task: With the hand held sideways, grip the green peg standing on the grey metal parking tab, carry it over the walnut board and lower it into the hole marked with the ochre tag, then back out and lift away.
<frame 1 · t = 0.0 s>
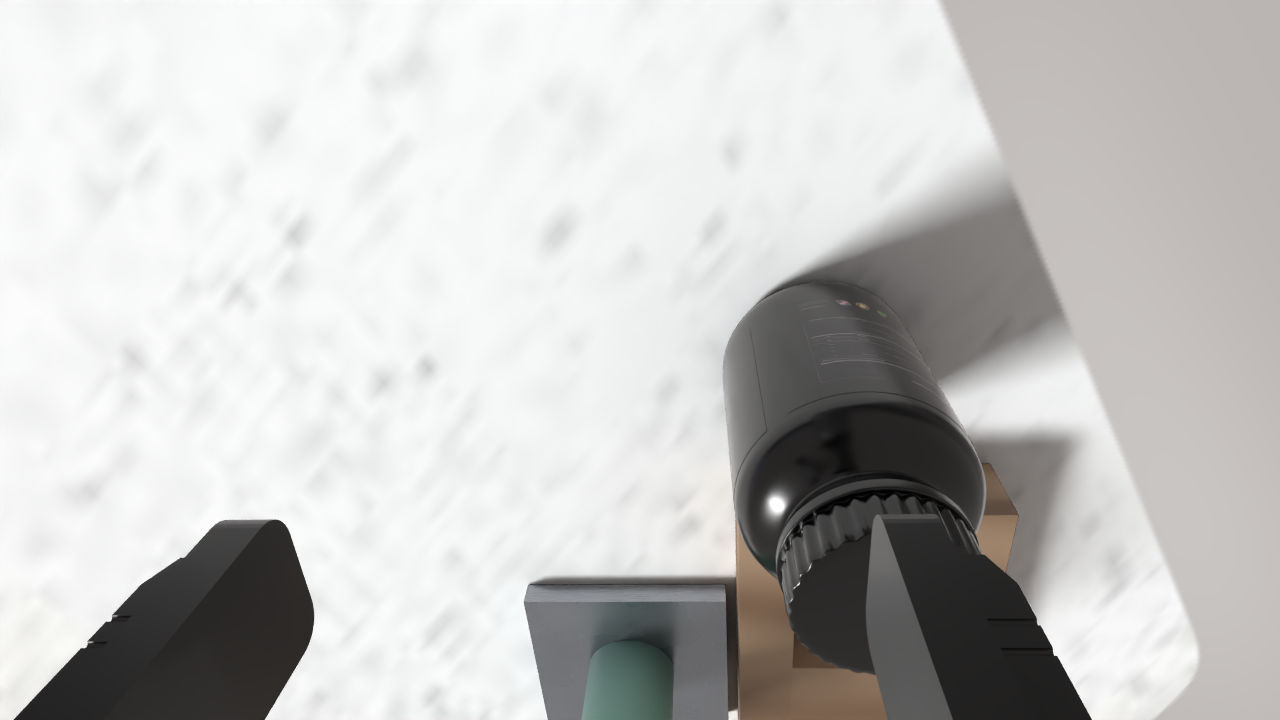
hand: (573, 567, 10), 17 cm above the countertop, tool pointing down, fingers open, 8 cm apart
peg: (631, 669, 36), point 1 cm above the countertop, touching parking tab
parking tab: (632, 652, 37), on the countertop
hole board: (843, 652, 36), on the countertop
supplement bottle: (814, 355, 28), on the countertop
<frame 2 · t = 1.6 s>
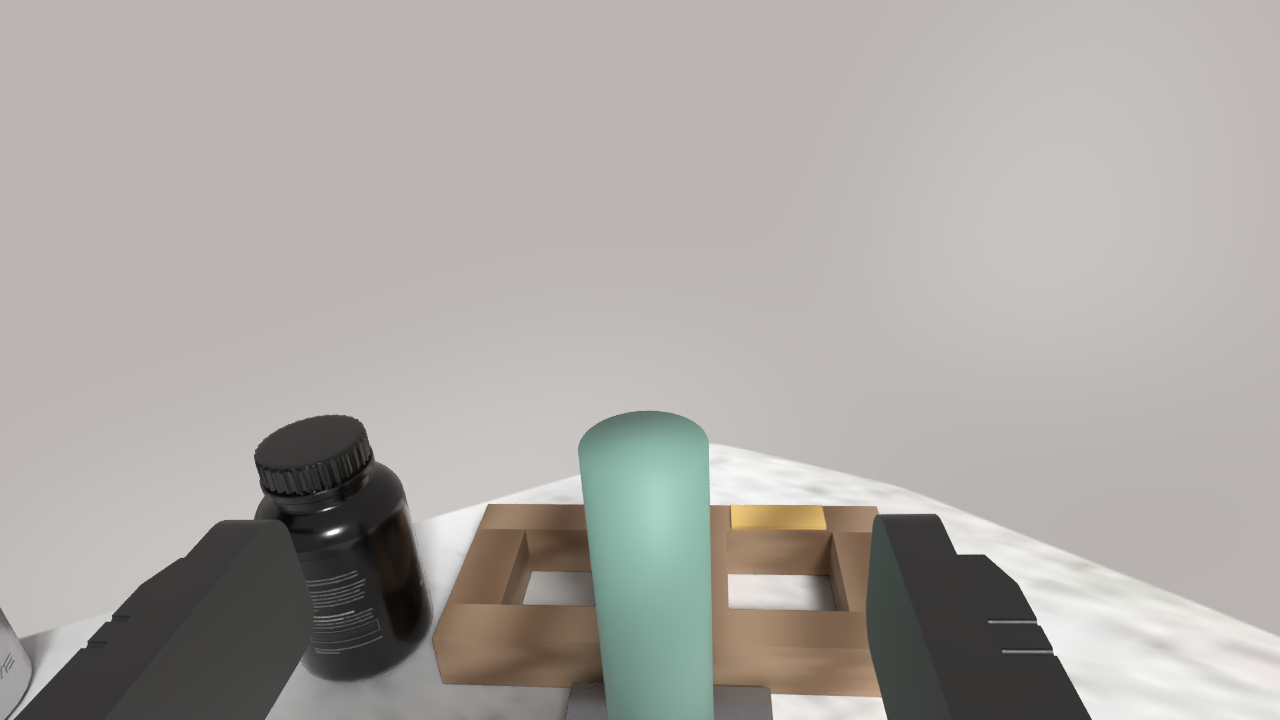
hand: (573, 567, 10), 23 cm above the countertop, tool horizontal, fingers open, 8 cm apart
hole board: (675, 610, 40), on the countertop
supplement bottle: (369, 636, 40), on the countertop
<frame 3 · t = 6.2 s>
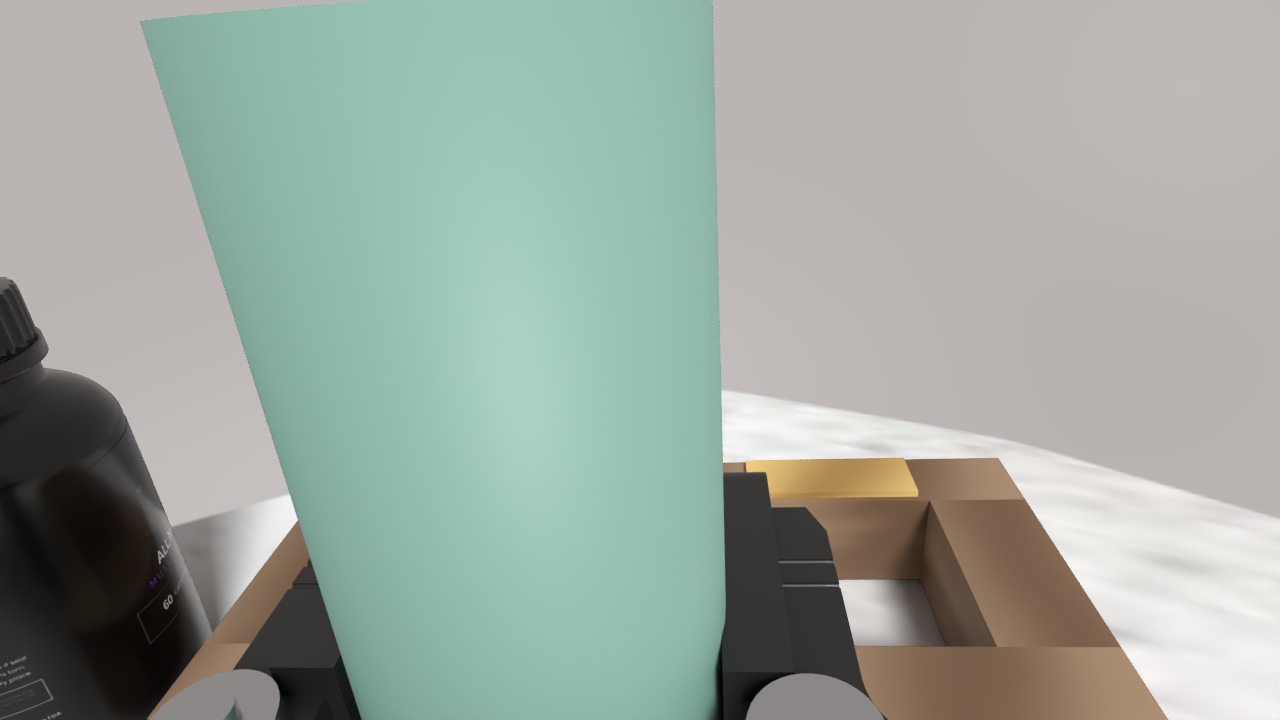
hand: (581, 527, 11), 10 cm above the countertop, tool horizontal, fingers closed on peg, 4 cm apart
hole board: (651, 647, 22), on the countertop
supplement bottle: (91, 704, 22), on the countertop
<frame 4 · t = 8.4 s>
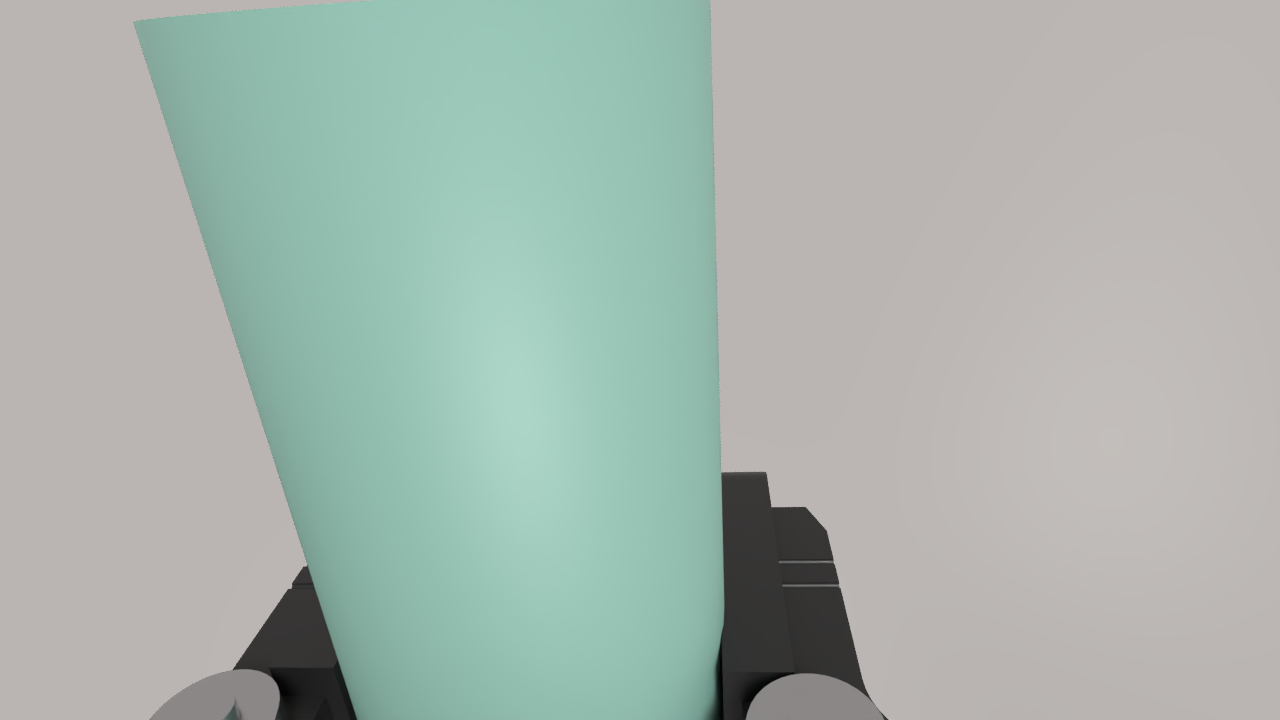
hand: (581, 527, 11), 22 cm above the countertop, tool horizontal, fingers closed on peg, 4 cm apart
when the fingers open (10 cm above the countertop, at t = 11.0 s): peg drops 1 cm, resting in hole board.
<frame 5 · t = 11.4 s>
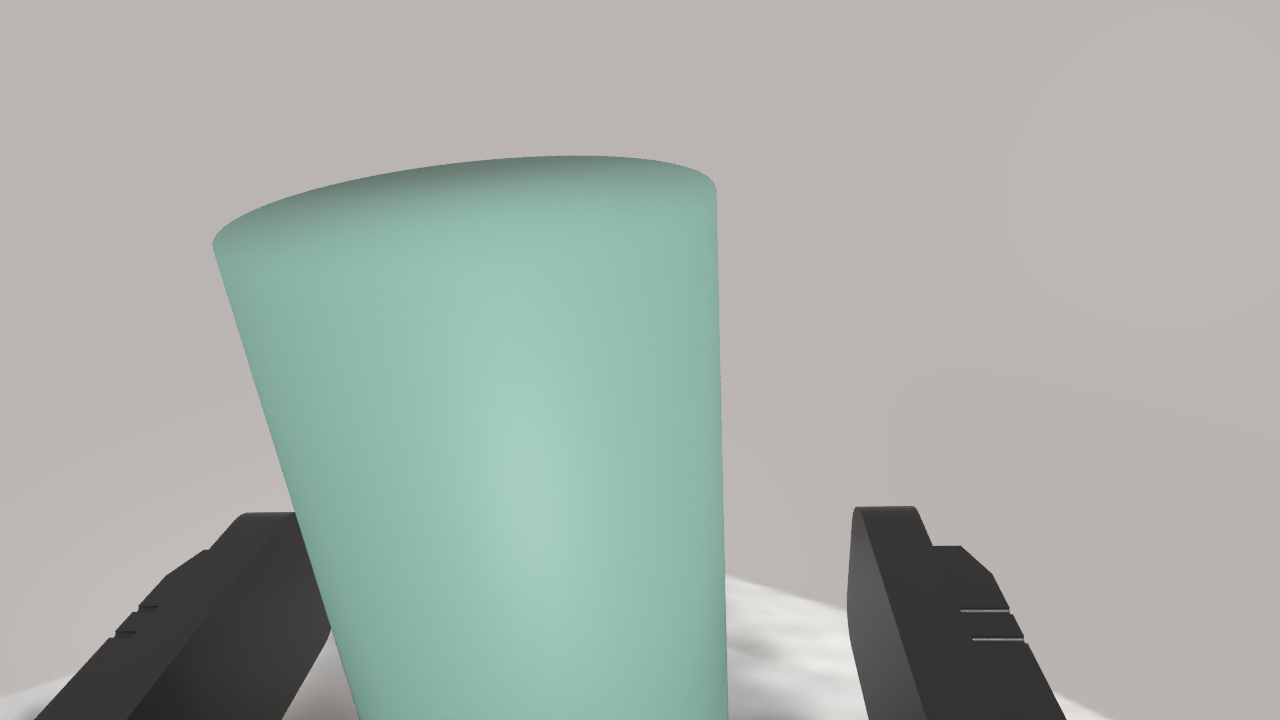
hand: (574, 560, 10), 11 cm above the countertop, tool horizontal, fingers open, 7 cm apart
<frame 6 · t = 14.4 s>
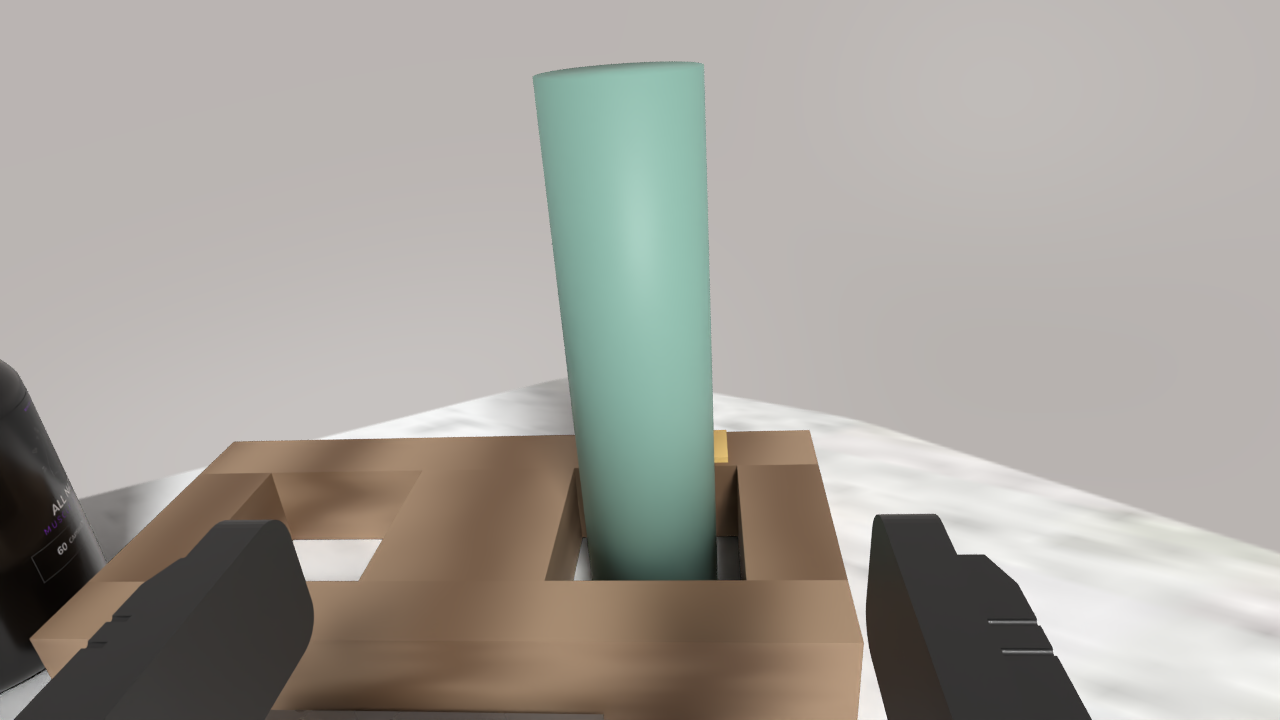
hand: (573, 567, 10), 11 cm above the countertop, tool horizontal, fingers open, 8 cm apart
peg: (656, 594, 25), resting in hole board
hole board: (490, 592, 25), on the countertop
supplement bottle: (2, 641, 25), on the countertop
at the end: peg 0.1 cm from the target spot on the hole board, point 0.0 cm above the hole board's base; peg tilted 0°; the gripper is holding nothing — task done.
